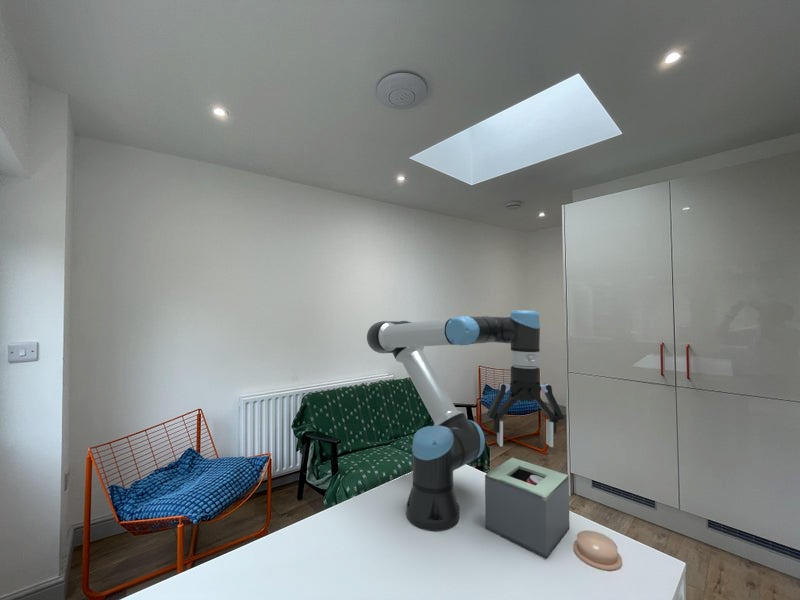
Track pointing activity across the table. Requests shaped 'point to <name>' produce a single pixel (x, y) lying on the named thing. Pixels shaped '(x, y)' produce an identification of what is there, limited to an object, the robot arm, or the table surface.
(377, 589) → the table surface
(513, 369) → the robot arm
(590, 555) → the peach dome
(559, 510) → the recycling bin
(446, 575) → the table surface
